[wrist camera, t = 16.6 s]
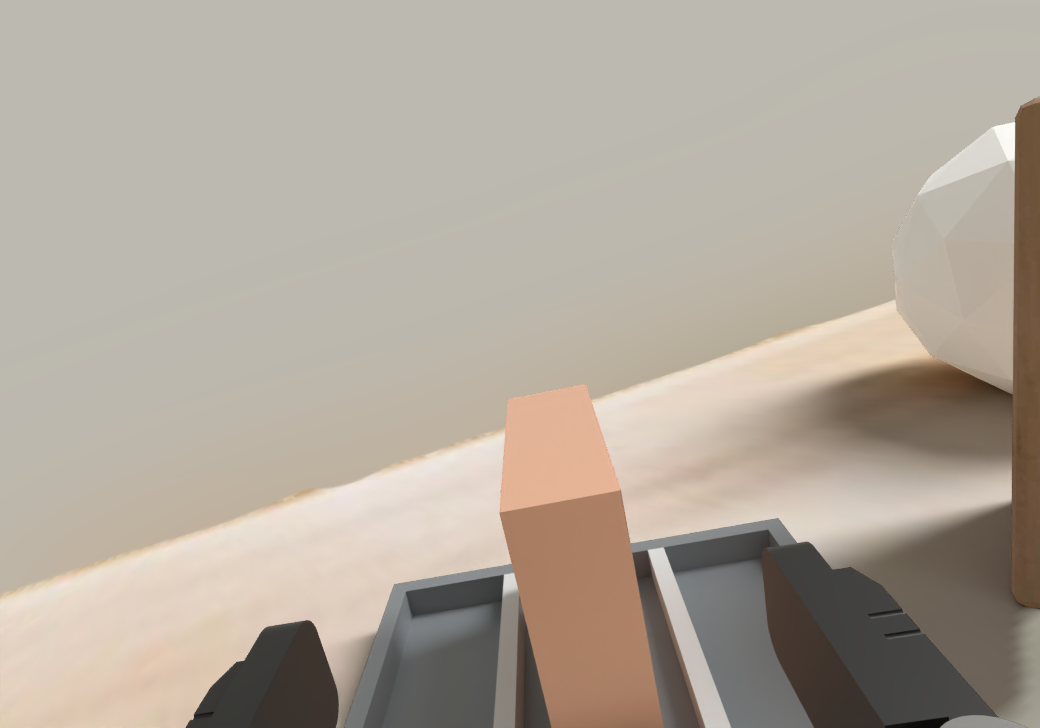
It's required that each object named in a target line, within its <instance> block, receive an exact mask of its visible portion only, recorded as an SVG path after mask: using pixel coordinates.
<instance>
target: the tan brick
mask: <svg viewBox="0 0 1040 728" xmlns="http://www.w3.org/2000/svg"><path fill="white" fill-rule="evenodd" d="M500 517H501V521H502V525H503V529H504V533H505V537H506V542H507V546H508V550H509V554H510V558H511V562H512V566H513V570H514V575H515V579H516V583H517V587H518V591H519V595H520V599H521V603H522V608H523V612H524V616H525V620H526V624H527V628H528V632H529V637H530V641H531V645H532V649H533V653H534V657H535V661H536V665H537V670H538V674H539V678H540V682H541V686H542V690H543V694H544V698H545V703H546V707H547V711H548V715H549V719H550V723H551V727H552V728H664V727H663V721H662V716H661V710H660V705H659V699H658V693H657V688H656V682H655V677H654V671H653V666H652V660H651V655H650V649H649V644H648V638H647V633H646V627H645V622H644V616H643V610H642V605H641V599H640V594H639V588H638V583H637V577H636V572H635V566H634V561H633V555H632V550H631V544H630V539H629V533H628V527H627V522H626V516H625V511H624V505H623V500H622V494H621V489H620V486H619V483H618V480H617V477H616V474H615V471H614V468H613V465H612V462H611V459H610V456H609V453H608V450H607V447H606V444H605V441H604V438H603V435H602V432H601V429H600V426H599V423H598V420H597V417H596V414H595V411H594V408H593V405H592V402H591V399H590V396H589V393H588V390H587V387H586V384H582V385H578V386H572V387H568V388H562V389H557V390H552V391H547V392H542V393H537V394H531V395H526V396H521V397H516V398H511V399H508V404H507V417H506V431H505V445H504V458H503V472H502V485H501V499H500Z"/></svg>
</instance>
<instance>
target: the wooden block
mask: <svg viewBox="0 0 1040 728" xmlns="http://www.w3.org/2000/svg"><path fill="white" fill-rule="evenodd" d="M1011 591H1012V593H1013V595H1014V597H1015V599H1016V601H1017V602H1018V603H1020V604H1022V605H1024V606H1027V607H1031V608H1036V609H1040V97H1037V98H1035V99H1033V100H1031V101H1029V102H1027V103H1026V104H1024V105H1022V106H1021V107H1020V109H1019V111H1018V113H1017V115H1016V117H1015V192H1014V308H1013V424H1012V540H1011Z"/></svg>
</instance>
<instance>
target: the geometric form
mask: <svg viewBox="0 0 1040 728" xmlns="http://www.w3.org/2000/svg"><path fill="white" fill-rule="evenodd" d="M1014 192H1015V122H1014V123H1009V124H1004V125H999V126H995V127H992V128H991V129H989V130H988V131H987V132H986V133H984V134H983V135H982V136H980V137H979V138H978V139H977V140H976V141H974V142H973V143H972V144H970V145H969V146H968V147H966V148H965V149H964V150H963V151H961V152H960V153H959V154H958V155H957V156H955V157H954V158H952V159H951V160H950V161H949V162H947V163H946V164H945V165H943V166H942V167H941V168H940V169H938V170H937V171H936V172H935V173H933V174H932V175H931V176H930V177H929V179H928V180H927V182H926V183H925V185H924V186H923V188H922V189H921V191H920V192H919V193H918V195H917V196H916V198H915V200H914V202H913V204H912V206H911V208H910V210H909V211H908V213H907V215H906V217H905V219H904V221H903V223H902V225H901V227H900V228H899V230H898V233H897V234H896V236H895V238H894V240H893V242H892V248H893V263H894V277H895V293H896V308H897V311H898V313H899V314H900V315H901V317H902V318H903V319H904V321H905V322H906V323H907V325H908V326H909V327H910V329H911V330H912V331H913V333H914V334H915V335H916V337H917V338H918V339H919V341H920V342H921V343H922V345H923V346H924V347H925V349H926V350H927V351H928V353H929V354H930V355H931V356H932V357H934V358H936V359H938V360H940V361H943V362H945V363H947V364H949V365H951V366H953V367H955V368H957V369H959V370H962V371H964V372H966V373H968V374H970V375H972V376H974V377H976V378H978V379H981V380H983V381H985V382H987V383H989V384H991V385H993V386H995V387H997V388H1000V389H1002V390H1004V391H1006V392H1008V393H1010V394H1013V308H1014Z"/></svg>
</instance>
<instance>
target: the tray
mask: <svg viewBox="0 0 1040 728" xmlns="http://www.w3.org/2000/svg"><path fill="white" fill-rule="evenodd" d="M795 543H797V542H796V541H795V539H794V538H793V537H792V536H791V534H790V533H789V532H788V530H787V529H786V528H785V526H784V525H783V524H782V522H781V521H780V520H779V518H777V519H771V520H765V521H759V522H753V523H748V524H742V525H736V526H730V527H724V528H719V529H713V530H707V531H701V532H695V533H690V534H684V535H678V536H672V537H666V538H660V539H655V540H649V541H643V542H637V543H631V550H632V555H633V561H634V566H635V572H636V577H637V583H638V588H639V594H640V599H641V605H642V610H643V616H644V622H645V627H646V633H647V638H648V644H649V649H650V655H651V660H652V666H653V671H654V677H655V682H656V688H657V693H658V699H659V705H660V710H661V716H662V721H663V727H664V728H814V727H813V725H812V723H811V721H810V719H809V717H808V715H807V713H806V712H805V710H804V708H803V706H802V704H801V702H800V700H799V698H798V697H797V695H796V693H795V691H794V689H793V687H792V685H791V683H790V681H789V680H788V678H787V676H786V674H785V672H784V670H783V668H782V666H781V664H780V662H779V660H778V658H777V656H776V653H775V650H774V648H773V644H772V641H771V638H770V634H769V629H768V623H767V613H766V602H765V592H764V581H763V570H762V558H761V556H762V550H763V549H764V548H770V547H776V546H783V545H789V544H795ZM344 728H552V727H551V723H550V719H549V715H548V711H547V707H546V703H545V698H544V694H543V690H542V686H541V682H540V678H539V674H538V670H537V665H536V661H535V657H534V653H533V649H532V645H531V641H530V637H529V632H528V628H527V624H526V620H525V616H524V612H523V608H522V603H521V599H520V595H519V591H518V587H517V583H516V579H515V575H514V570H513V566H512V564H509V565H504V566H498V567H492V568H486V569H480V570H475V571H469V572H463V573H457V574H451V575H446V576H440V577H434V578H428V579H422V580H417V581H411V582H405V583H399V584H394V586H393V589H392V592H391V594H390V597H389V600H388V603H387V606H386V609H385V612H384V614H383V617H382V620H381V623H380V626H379V629H378V632H377V634H376V637H375V640H374V643H373V646H372V649H371V652H370V654H369V657H368V660H367V663H366V666H365V669H364V672H363V674H362V677H361V680H360V683H359V686H358V689H357V692H356V694H355V697H354V700H353V703H352V706H351V709H350V712H349V714H348V717H347V720H346V723H345V726H344Z"/></svg>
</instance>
